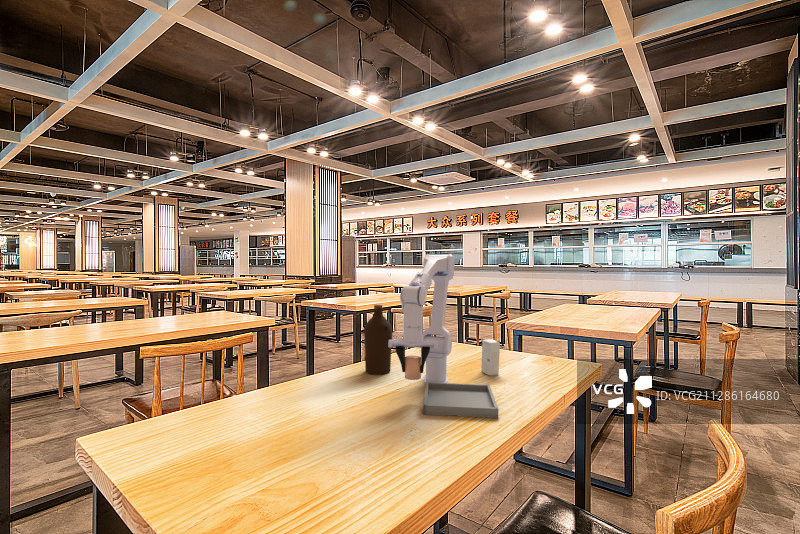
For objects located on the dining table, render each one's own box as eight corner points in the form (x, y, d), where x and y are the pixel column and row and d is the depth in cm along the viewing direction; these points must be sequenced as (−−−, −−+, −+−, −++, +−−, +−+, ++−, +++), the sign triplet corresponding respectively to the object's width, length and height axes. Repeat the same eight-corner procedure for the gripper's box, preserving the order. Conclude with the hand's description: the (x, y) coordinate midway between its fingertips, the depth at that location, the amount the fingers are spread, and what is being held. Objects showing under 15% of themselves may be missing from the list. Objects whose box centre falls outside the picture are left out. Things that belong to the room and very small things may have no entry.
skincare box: (480, 371, 146) (481, 339, 146) (491, 370, 148) (491, 338, 147) (489, 375, 140) (489, 342, 140) (500, 374, 142) (500, 341, 142)
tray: (426, 390, 125) (426, 382, 125) (489, 392, 122) (489, 384, 122) (423, 414, 105) (423, 405, 105) (498, 418, 103) (498, 408, 102)
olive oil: (396, 369, 149) (396, 304, 148) (385, 376, 139) (385, 307, 138) (370, 366, 152) (371, 303, 152) (359, 373, 142) (359, 306, 142)
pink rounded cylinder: (405, 374, 118) (405, 355, 118) (421, 375, 117) (421, 355, 117) (403, 379, 113) (404, 359, 113) (420, 380, 112) (420, 359, 112)
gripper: (386, 327, 112) (386, 374, 112) (437, 329, 110) (437, 376, 110) (390, 323, 119) (390, 367, 119) (437, 325, 117) (437, 369, 117)
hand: (412, 371), depth 115 cm, fingers closed on pink rounded cylinder, 5 cm apart
